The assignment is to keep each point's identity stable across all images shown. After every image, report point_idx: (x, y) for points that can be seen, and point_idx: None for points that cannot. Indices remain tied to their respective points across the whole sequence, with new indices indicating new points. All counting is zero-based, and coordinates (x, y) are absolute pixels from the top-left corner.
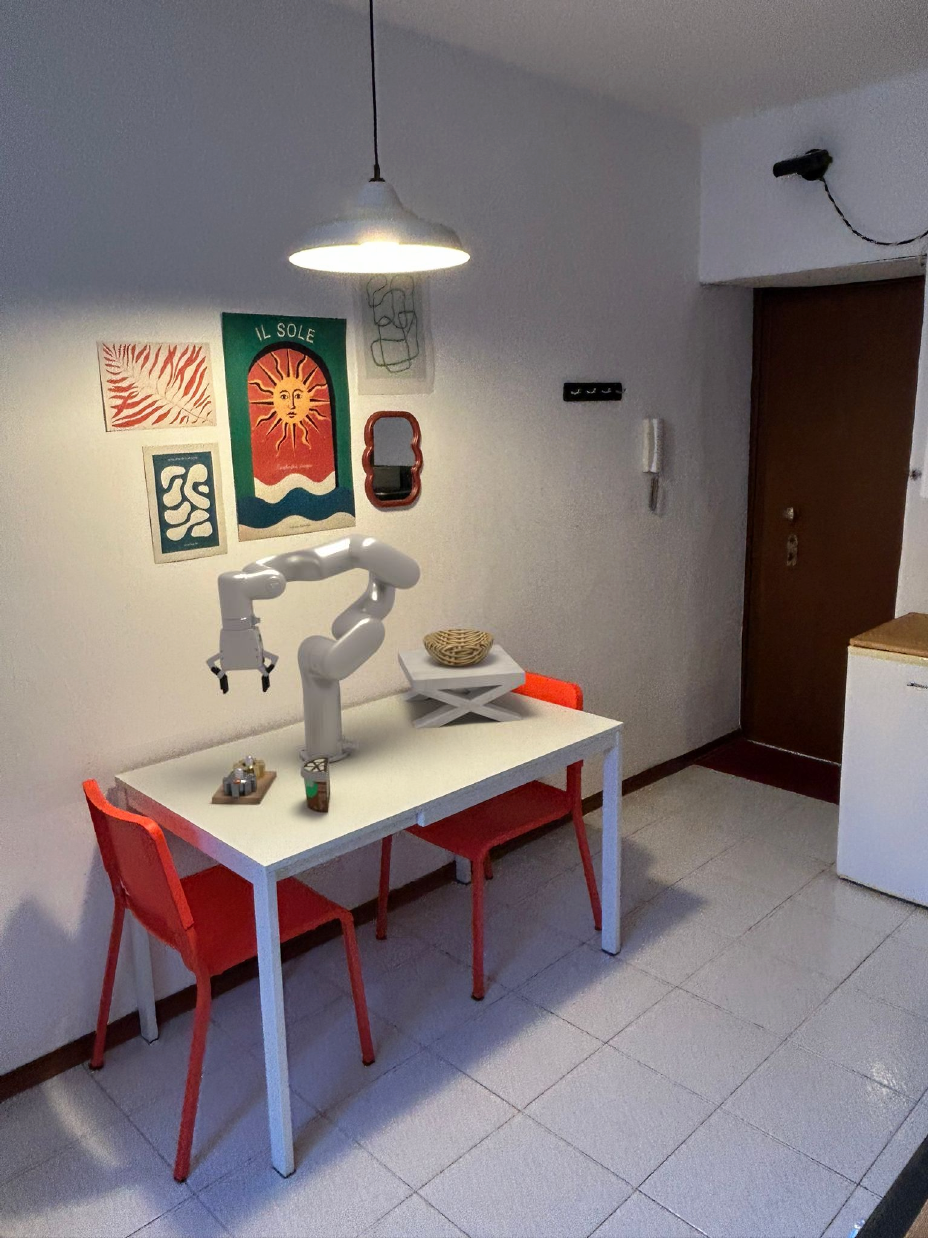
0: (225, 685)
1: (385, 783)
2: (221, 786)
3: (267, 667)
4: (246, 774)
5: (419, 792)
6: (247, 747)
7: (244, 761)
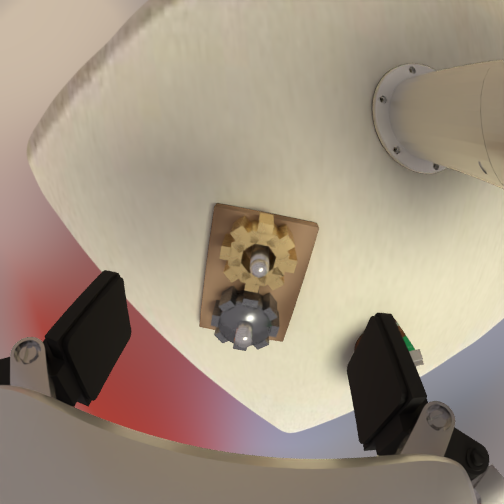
0: (110, 361)
1: (471, 286)
2: (206, 286)
3: (444, 446)
4: (257, 310)
5: (485, 317)
6: (233, 21)
7: (245, 242)
